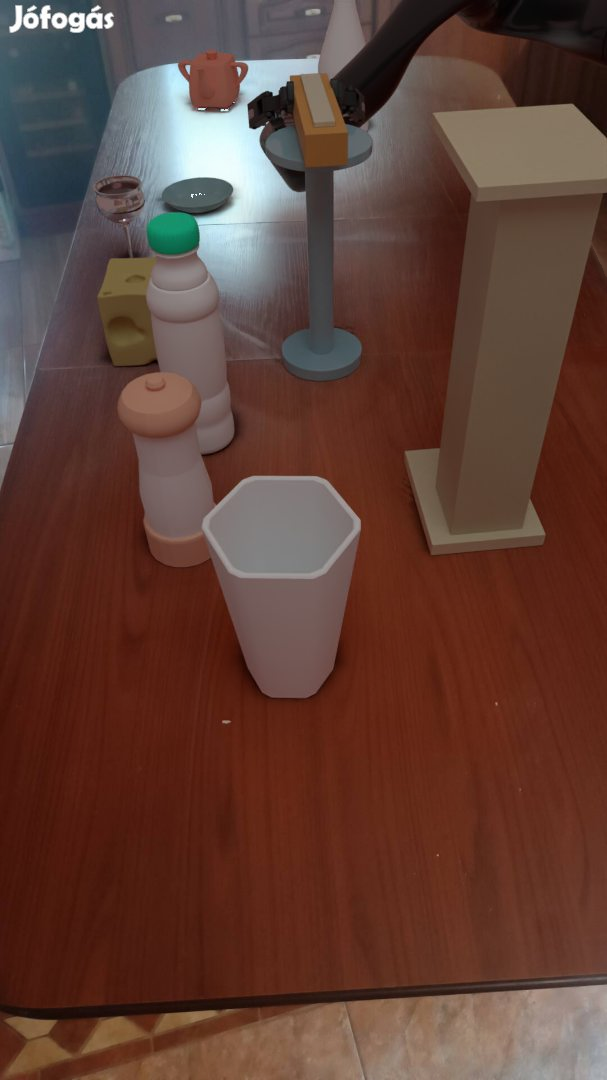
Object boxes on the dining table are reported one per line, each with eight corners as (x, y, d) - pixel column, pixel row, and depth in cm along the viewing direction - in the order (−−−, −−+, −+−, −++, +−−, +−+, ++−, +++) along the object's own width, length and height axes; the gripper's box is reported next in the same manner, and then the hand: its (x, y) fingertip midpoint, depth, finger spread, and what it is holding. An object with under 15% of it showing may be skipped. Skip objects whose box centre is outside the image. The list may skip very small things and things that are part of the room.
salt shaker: (237, 540, 79) (217, 376, 65) (179, 579, 76) (144, 416, 62) (191, 504, 83) (162, 343, 69) (134, 541, 79) (91, 378, 65)
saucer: (160, 222, 129) (158, 208, 127) (166, 191, 137) (164, 178, 136) (233, 219, 129) (232, 204, 128) (235, 188, 137) (234, 175, 136)
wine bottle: (308, 133, 154) (304, -58, 133) (343, 120, 159) (345, -67, 137) (343, 146, 149) (344, -51, 128) (378, 132, 154) (385, -60, 132)
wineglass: (100, 267, 119) (82, 185, 110) (137, 251, 122) (122, 170, 114) (128, 282, 116) (111, 199, 107) (165, 265, 119) (152, 183, 110)
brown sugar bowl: (177, 101, 170) (170, 46, 162) (229, 91, 173) (224, 37, 166) (203, 121, 161) (196, 65, 153) (256, 110, 164) (253, 55, 157)
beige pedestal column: (403, 461, 86) (432, 112, 61) (503, 452, 87) (572, 103, 62) (430, 555, 77) (478, 187, 52) (543, 545, 77) (644, 175, 52)
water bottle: (190, 413, 93) (155, 199, 76) (245, 425, 92) (223, 209, 74) (161, 449, 89) (117, 231, 71) (218, 463, 87) (188, 242, 69)
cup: (355, 618, 72) (360, 475, 59) (356, 717, 65) (361, 578, 52) (231, 617, 72) (210, 474, 60) (219, 715, 65) (192, 576, 53)
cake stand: (358, 331, 105) (364, 118, 86) (371, 379, 97) (381, 157, 78) (274, 338, 104) (262, 125, 86) (281, 387, 97) (269, 165, 78)
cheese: (193, 366, 100) (182, 293, 93) (107, 369, 100) (90, 296, 93) (200, 322, 107) (190, 251, 100) (120, 325, 108) (105, 254, 100)
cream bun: (290, 105, 87) (289, 70, 85) (327, 103, 87) (327, 67, 85) (305, 167, 76) (304, 128, 73) (347, 165, 76) (348, 126, 73)
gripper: (241, 96, 97) (240, 53, 80) (357, 89, 98) (380, 44, 81) (247, 164, 99) (247, 135, 83) (361, 156, 100) (383, 126, 83)
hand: (313, 90), depth 82 cm, fingers closed on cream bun, 4 cm apart
